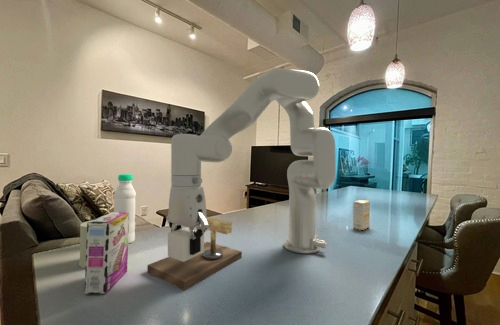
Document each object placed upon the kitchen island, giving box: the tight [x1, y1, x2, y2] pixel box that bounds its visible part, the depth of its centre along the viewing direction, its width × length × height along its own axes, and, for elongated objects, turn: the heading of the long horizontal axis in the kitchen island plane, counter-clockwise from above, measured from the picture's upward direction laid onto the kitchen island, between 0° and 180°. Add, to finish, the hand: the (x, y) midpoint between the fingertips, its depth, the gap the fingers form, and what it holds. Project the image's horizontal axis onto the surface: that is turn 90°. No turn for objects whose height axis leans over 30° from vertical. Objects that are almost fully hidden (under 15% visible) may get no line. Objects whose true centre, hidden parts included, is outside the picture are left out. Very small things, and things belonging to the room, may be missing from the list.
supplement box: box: [352, 199, 371, 231], centre depth 110 cm, size 8×5×13 cm, turn 133°
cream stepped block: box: [167, 225, 210, 262], centre depth 62 cm, size 6×10×6 cm, turn 146°
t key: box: [200, 216, 233, 260], centre depth 70 cm, size 12×6×11 cm, turn 56°
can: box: [78, 219, 93, 269], centre depth 69 cm, size 9×9×12 cm
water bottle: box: [113, 173, 137, 245], centre depth 85 cm, size 7×7×25 cm
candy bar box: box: [84, 211, 129, 295], centre depth 57 cm, size 11×5×16 cm, turn 5°
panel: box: [146, 241, 243, 291], centre depth 68 cm, size 15×23×2 cm, turn 146°
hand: (186, 249), depth 61 cm, fingers closed on cream stepped block, 6 cm apart
